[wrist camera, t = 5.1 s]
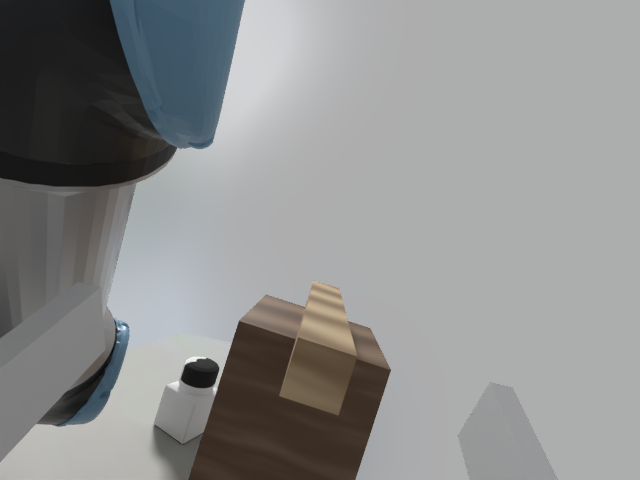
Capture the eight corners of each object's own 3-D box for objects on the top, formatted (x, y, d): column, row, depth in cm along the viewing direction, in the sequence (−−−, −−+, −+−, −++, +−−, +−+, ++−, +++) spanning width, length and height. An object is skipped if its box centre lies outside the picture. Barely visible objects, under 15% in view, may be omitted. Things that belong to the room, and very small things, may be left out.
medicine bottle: (211, 428, 63) (231, 365, 63) (182, 445, 57) (204, 375, 57) (183, 409, 66) (202, 349, 66) (152, 423, 60) (173, 357, 60)
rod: (338, 415, 20) (357, 356, 20) (279, 396, 20) (297, 337, 20) (331, 313, 46) (339, 288, 46) (305, 305, 46) (313, 280, 46)
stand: (286, 690, 31) (390, 370, 31) (137, 640, 31) (239, 320, 31) (298, 549, 45) (370, 328, 45) (195, 515, 45) (266, 294, 45)
